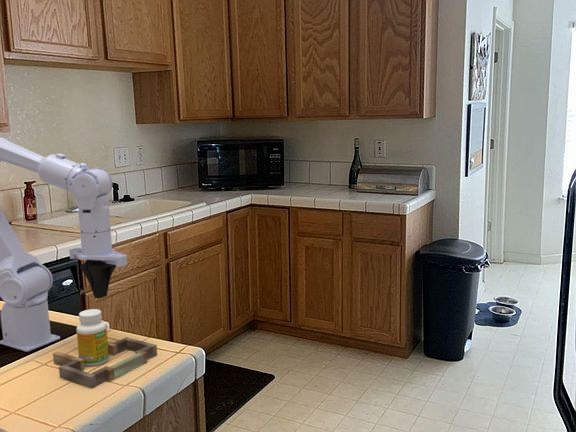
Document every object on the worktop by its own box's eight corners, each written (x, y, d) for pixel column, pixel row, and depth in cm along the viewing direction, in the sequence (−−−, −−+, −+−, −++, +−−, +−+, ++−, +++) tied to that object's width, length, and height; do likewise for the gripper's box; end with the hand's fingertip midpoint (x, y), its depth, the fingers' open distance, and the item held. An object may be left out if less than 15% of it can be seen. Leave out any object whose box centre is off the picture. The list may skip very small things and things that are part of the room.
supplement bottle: (99, 367, 103) (95, 318, 102) (73, 366, 104) (69, 316, 103) (114, 356, 108) (110, 308, 107) (89, 354, 109) (85, 307, 108)
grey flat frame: (37, 370, 103) (36, 360, 102) (105, 340, 116) (104, 331, 116) (94, 389, 95) (93, 378, 94) (160, 355, 108) (159, 345, 108)
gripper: (54, 230, 110) (60, 297, 112) (104, 237, 102) (110, 308, 105) (83, 224, 116) (88, 287, 118) (133, 230, 108) (138, 297, 111)
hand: (100, 296), depth 112 cm, fingers closed
